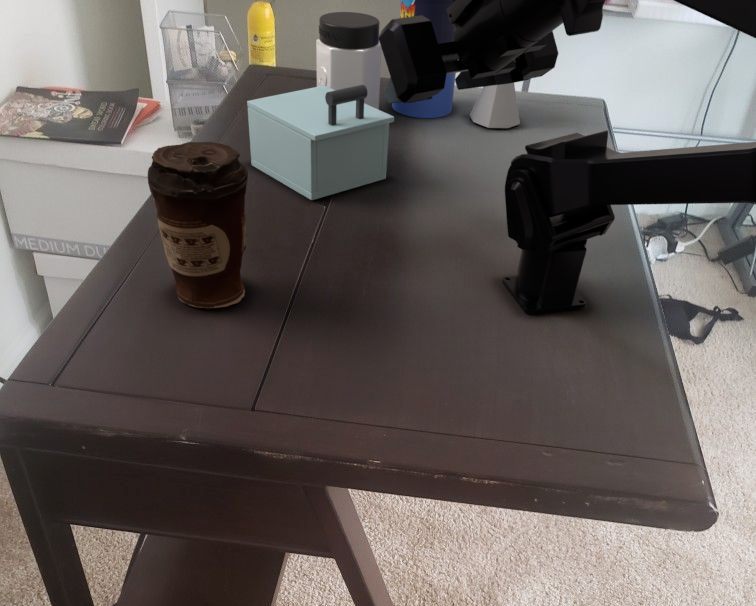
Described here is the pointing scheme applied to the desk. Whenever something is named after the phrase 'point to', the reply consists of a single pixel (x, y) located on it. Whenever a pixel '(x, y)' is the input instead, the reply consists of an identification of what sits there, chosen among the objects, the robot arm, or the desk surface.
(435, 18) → the water bottle
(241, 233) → the coffee cup
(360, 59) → the jar
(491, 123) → the flask
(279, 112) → the lid
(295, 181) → the pale teal lidded box
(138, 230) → the desk surface
